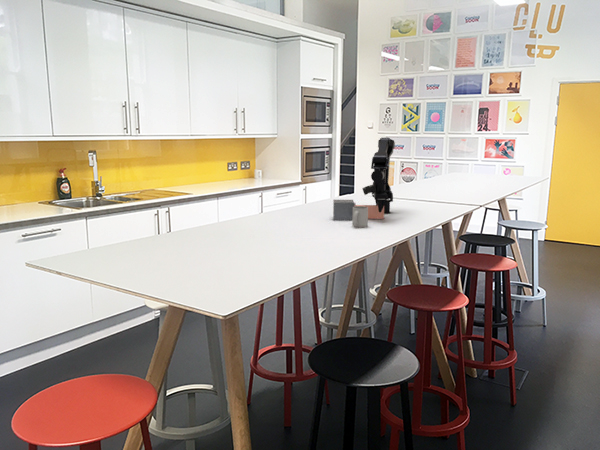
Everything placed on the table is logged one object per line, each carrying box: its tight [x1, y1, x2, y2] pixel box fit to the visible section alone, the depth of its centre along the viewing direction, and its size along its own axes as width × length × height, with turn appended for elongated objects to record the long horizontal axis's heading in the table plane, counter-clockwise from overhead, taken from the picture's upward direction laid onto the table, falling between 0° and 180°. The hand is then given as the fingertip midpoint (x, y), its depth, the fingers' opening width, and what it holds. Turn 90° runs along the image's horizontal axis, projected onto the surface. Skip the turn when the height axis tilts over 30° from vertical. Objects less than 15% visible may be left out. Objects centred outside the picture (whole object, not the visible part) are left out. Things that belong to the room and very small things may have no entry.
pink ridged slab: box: [354, 204, 385, 220], centre depth 257 cm, size 17×2×7 cm, turn 87°
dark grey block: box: [332, 199, 357, 221], centre depth 257 cm, size 11×10×9 cm
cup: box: [351, 206, 369, 229], centre depth 237 cm, size 7×10×9 cm
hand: (378, 210), depth 256 cm, fingers open, 9 cm apart
